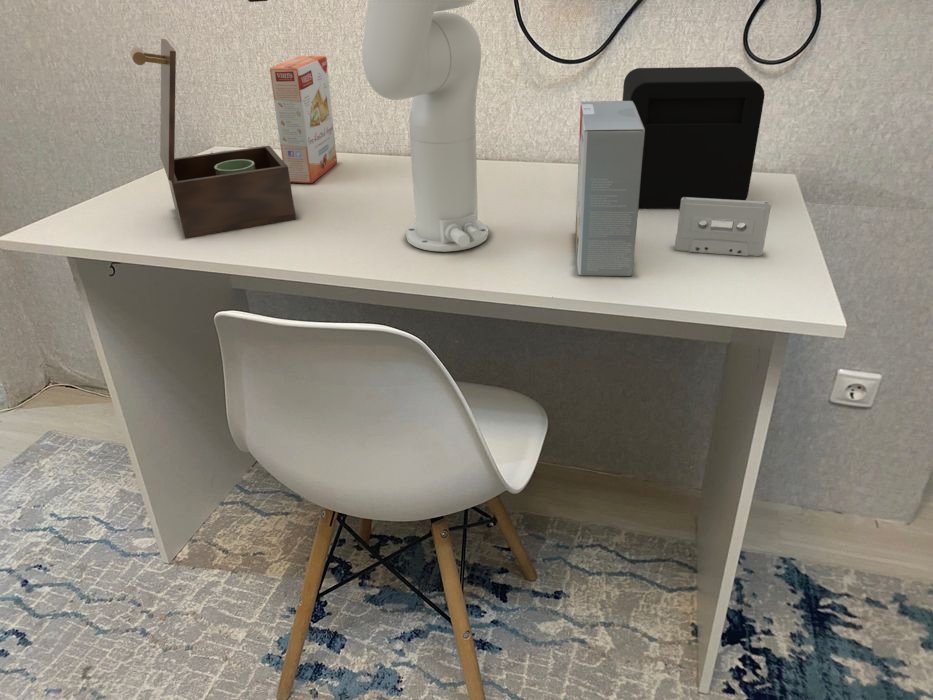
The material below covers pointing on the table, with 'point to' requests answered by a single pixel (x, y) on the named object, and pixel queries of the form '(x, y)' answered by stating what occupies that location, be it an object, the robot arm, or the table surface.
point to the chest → (231, 192)
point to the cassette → (722, 238)
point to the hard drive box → (608, 187)
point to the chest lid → (164, 99)
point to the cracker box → (304, 117)
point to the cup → (234, 166)
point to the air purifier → (695, 132)
